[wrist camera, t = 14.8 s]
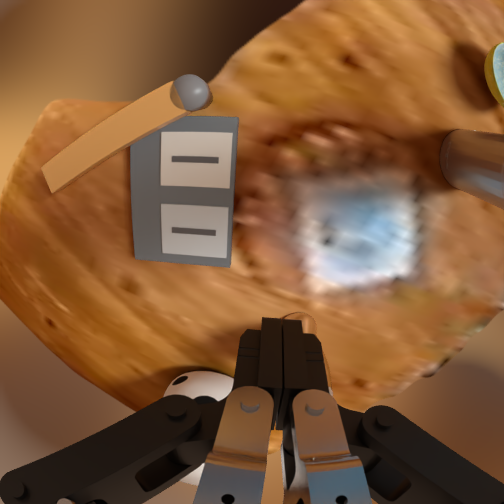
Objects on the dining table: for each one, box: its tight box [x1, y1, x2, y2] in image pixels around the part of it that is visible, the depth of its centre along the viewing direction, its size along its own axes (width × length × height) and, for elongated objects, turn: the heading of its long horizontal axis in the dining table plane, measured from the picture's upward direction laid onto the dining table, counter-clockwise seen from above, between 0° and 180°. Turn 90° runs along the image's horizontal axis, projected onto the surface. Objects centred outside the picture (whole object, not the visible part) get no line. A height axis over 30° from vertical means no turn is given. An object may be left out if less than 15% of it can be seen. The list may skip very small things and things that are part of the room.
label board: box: [130, 116, 239, 268], centre depth 39 cm, size 14×20×2 cm
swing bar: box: [41, 75, 210, 193], centre depth 31 cm, size 24×4×2 cm, turn 112°
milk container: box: [163, 371, 234, 486], centre depth 46 cm, size 17×17×18 cm
